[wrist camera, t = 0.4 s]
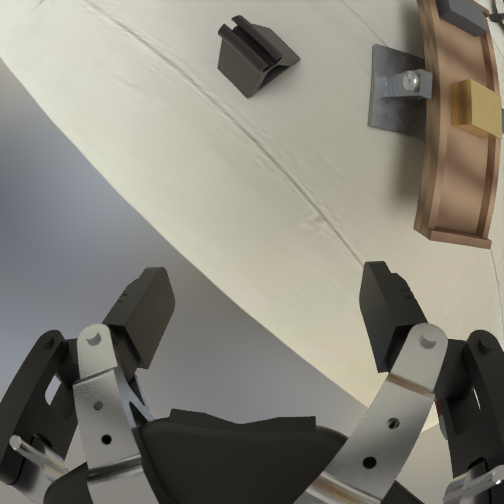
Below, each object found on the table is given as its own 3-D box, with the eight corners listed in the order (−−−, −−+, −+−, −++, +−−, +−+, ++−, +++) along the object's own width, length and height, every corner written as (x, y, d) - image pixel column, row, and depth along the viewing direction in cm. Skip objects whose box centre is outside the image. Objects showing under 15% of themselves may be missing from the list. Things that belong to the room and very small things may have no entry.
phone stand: (270, 29, 26) (265, -5, 16) (300, 59, 28) (310, 36, 18) (217, 68, 30) (190, 50, 19) (247, 99, 31) (232, 92, 21)
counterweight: (433, -5, 14) (444, -14, 11) (469, 14, 14) (481, 8, 11) (438, 17, 15) (450, 9, 13) (475, 37, 15) (488, 31, 12)
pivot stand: (372, 46, 25) (405, 26, 16) (472, 84, 24) (517, 86, 15) (367, 125, 31) (401, 132, 22) (465, 153, 30) (510, 172, 21)
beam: (413, -12, 15) (426, -25, 11) (473, 17, 14) (488, 10, 11) (413, 228, 27) (430, 240, 23) (472, 238, 26) (489, 249, 22)
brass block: (450, 84, 19) (470, 78, 15) (480, 98, 18) (500, 96, 15) (450, 125, 21) (471, 124, 17) (480, 137, 20) (501, 139, 17)
